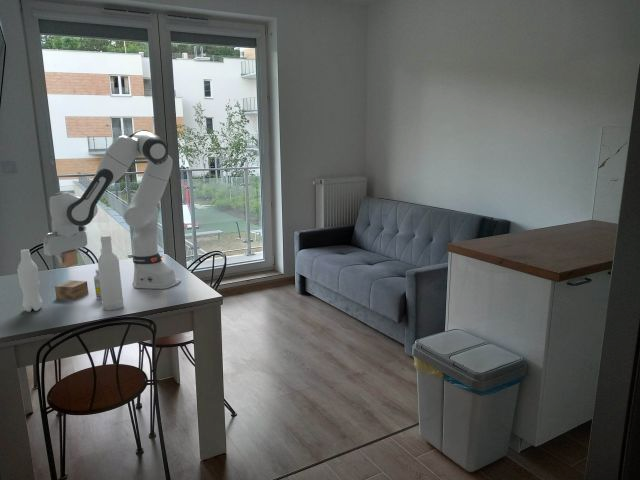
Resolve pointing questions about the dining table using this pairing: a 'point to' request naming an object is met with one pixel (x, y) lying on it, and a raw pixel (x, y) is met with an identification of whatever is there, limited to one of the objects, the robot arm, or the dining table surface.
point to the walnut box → (71, 290)
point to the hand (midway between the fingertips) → (68, 260)
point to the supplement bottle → (97, 285)
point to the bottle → (109, 276)
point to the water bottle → (29, 282)
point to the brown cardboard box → (69, 258)
